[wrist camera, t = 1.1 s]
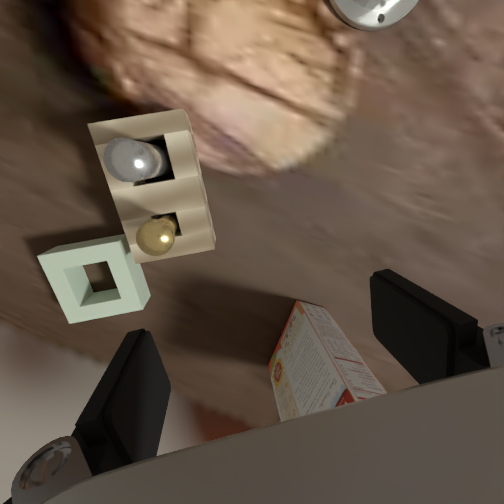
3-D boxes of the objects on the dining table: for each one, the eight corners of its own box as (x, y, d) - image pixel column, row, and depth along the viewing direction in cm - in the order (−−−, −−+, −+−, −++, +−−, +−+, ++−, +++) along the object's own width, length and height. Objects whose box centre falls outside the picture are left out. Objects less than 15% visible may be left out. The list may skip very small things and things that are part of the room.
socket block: (107, 129, 31) (87, 123, 27) (188, 116, 32) (182, 108, 27) (146, 251, 37) (135, 263, 32) (215, 238, 37) (214, 249, 33)
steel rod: (140, 148, 33) (96, 141, 21) (169, 143, 33) (140, 134, 21) (149, 177, 34) (111, 185, 22) (176, 173, 34) (152, 178, 23)
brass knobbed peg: (151, 211, 32) (130, 225, 25) (180, 206, 32) (167, 218, 25) (159, 238, 33) (142, 259, 26) (187, 233, 34) (177, 252, 26)
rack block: (56, 246, 35) (36, 256, 32) (129, 232, 36) (118, 241, 32) (84, 308, 39) (69, 323, 35) (150, 295, 39) (142, 309, 35)
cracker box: (296, 371, 47) (348, 520, 28) (266, 364, 46) (297, 516, 26) (328, 306, 43) (415, 427, 24) (296, 298, 42) (359, 417, 22)
